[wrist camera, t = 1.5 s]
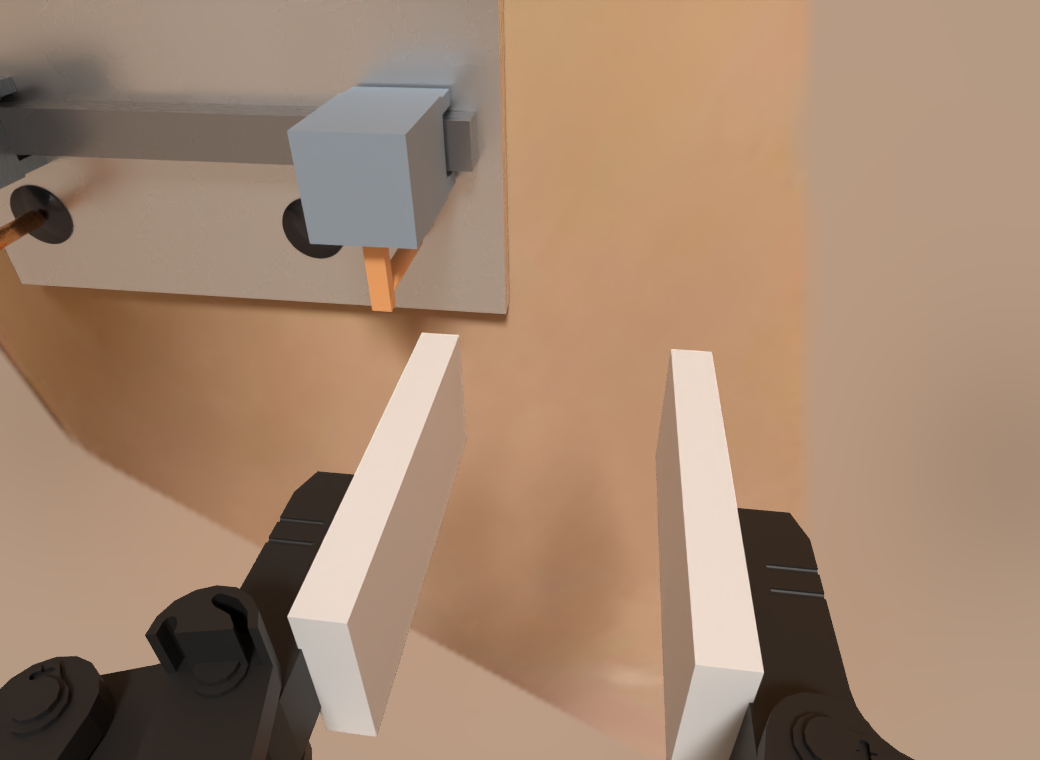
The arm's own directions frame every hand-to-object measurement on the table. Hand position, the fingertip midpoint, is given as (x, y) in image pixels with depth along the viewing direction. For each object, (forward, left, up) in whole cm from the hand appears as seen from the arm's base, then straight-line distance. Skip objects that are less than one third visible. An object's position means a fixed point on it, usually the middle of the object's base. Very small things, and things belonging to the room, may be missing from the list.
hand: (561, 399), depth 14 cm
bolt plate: (+1, -17, -19) cm, 25 cm away
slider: (+2, -8, -17) cm, 19 cm away
